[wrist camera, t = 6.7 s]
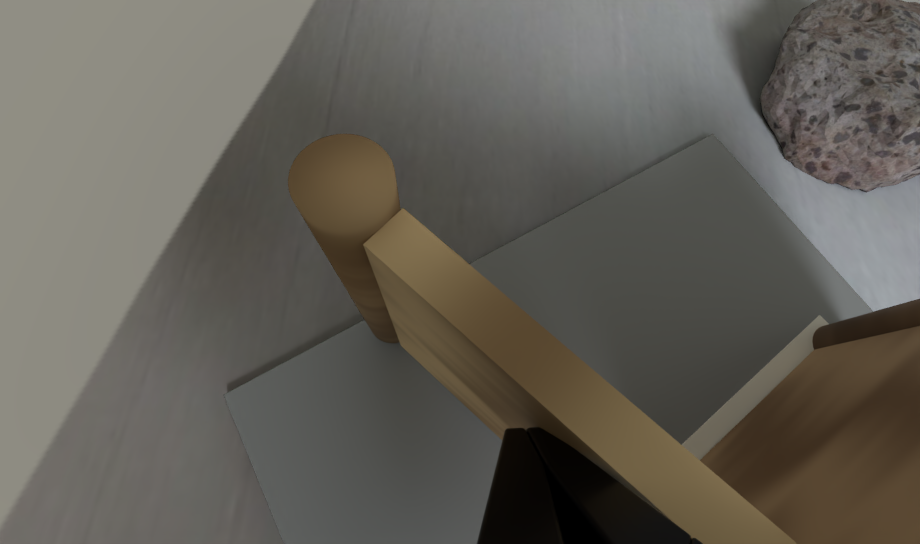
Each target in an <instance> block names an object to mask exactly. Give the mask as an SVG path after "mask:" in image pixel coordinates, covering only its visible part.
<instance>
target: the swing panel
mask: <svg viewBox="0 0 920 544" xmlns="http://www.w3.org/2000/svg"><path fill="white" fill-rule="evenodd" d="M288 187H289V192H290V195H291V198H292V200H293V202H294V203H295V205H296V207H297V208H298V210H299V212H300V213H301V215H302V217H303V218H304V220H305V222H306V223H307V225H308V227H309V228H310V230H311V232H312V233H313V235H314V237H315V238H316V240H317V242H318V243H319V245H320V247H321V248H322V250H323V251H324V253H325V255H326V256H327V258H328V260H329V261H330V263H331V265H332V266H333V268H334V270H335V271H336V273H337V275H338V276H339V278H340V280H341V281H342V283H343V285H344V286H345V288H346V290H347V291H348V293H349V295H350V296H351V298H352V299H353V301H354V303H355V304H356V306H357V308H358V309H359V311H360V313H361V314H362V316H363V318H364V319H365V321H366V323H367V324H368V326H369V328H370V329H371V331H372V333H373V334H374V335H375V336H376V337H377V338H378V339H379V340H381V341H383V342H386V343H398V342H400V345H401V346H402V347H403V348H404V349H405V350H406V351H407V352H408V353H409V354H410V355H411V356H412V357H413V358H415V359H416V360H417V361H418V362H419V363H420V364H421V365H422V366H423V367H424V368H425V369H426V370H427V371H428V372H430V373H431V374H432V375H433V376H434V377H435V378H436V379H437V380H438V381H439V382H440V383H441V384H442V385H443V386H444V387H446V388H447V389H448V390H449V391H450V392H451V393H452V394H453V395H454V396H455V397H456V398H457V399H458V400H459V401H461V402H462V403H463V404H464V405H465V406H466V407H467V408H468V409H469V410H470V411H471V412H472V413H473V414H474V415H475V416H477V417H478V418H479V419H480V420H481V421H482V422H483V423H484V424H485V425H486V426H487V427H488V428H489V429H490V430H492V431H493V432H494V433H495V434H496V435H497V436H498V437H499V438H500V439H501V440H502V439H503V435H504V432H505V430H506V429H507V428H524V429H525V430H526V429H527V428H529V427H540V428H542V429H544V430H545V431H547V432H549V433H550V434H552V435H554V436H555V437H557V438H558V439H560V440H562V441H563V442H565V443H567V444H568V445H570V446H572V447H573V448H575V449H576V450H577V451H579V452H580V453H581V454H583V455H584V456H585V457H587V458H588V459H589V460H591V461H592V462H593V463H595V464H596V465H597V466H599V467H600V468H601V469H603V470H604V471H605V472H607V473H608V474H609V475H611V476H612V477H613V478H615V479H616V480H617V481H619V482H620V483H621V484H623V485H624V486H625V487H627V488H628V489H629V490H631V491H632V492H633V493H635V494H636V495H638V496H639V497H640V498H642V499H643V500H644V501H646V502H647V503H648V504H650V505H651V506H652V507H654V508H655V509H656V510H658V511H659V512H660V513H662V514H663V515H664V516H666V517H667V518H668V519H670V520H671V521H672V522H674V523H675V524H676V525H678V526H679V527H680V528H682V529H683V530H684V531H686V532H687V533H688V534H690V536H691V539H692V538H696V539H698V540H699V541H700V542H702V543H703V544H797V543H796V542H795V541H794V540H793V539H791V538H790V537H789V536H788V535H787V534H786V533H784V532H783V531H782V530H781V529H780V528H778V527H777V526H776V525H775V524H774V523H773V522H771V521H770V520H769V519H768V518H767V517H766V516H764V515H763V514H762V513H761V512H760V511H759V510H757V509H756V508H755V507H754V506H753V505H751V504H750V503H749V502H748V501H747V500H746V499H744V498H743V497H742V496H741V495H740V494H739V493H737V492H736V491H735V490H734V489H733V488H732V487H730V486H729V485H728V484H727V483H726V482H724V481H723V480H722V479H721V478H720V477H719V476H717V475H716V474H715V473H714V472H713V471H712V470H710V469H709V468H708V467H707V466H706V465H704V464H703V463H702V462H701V461H700V460H699V459H697V458H696V457H695V456H694V455H693V454H692V453H690V452H689V451H688V450H687V449H686V448H685V447H683V446H682V445H681V444H680V443H679V442H677V441H676V440H675V439H674V438H673V437H672V436H670V435H669V434H668V433H667V432H666V431H665V430H663V429H662V428H661V427H660V426H659V425H657V424H656V423H655V422H654V421H653V420H652V419H650V418H649V417H648V416H647V415H646V414H645V413H643V412H642V411H641V410H640V409H639V408H638V407H636V406H635V405H634V404H633V403H632V402H630V401H629V400H628V399H627V398H626V397H625V396H623V395H622V394H621V393H620V392H619V391H618V390H616V389H615V388H614V387H613V386H612V385H610V384H609V383H608V382H607V381H606V380H605V379H603V378H602V377H601V376H600V375H599V374H598V373H596V372H595V371H594V370H593V369H592V368H591V367H589V366H588V365H587V364H586V363H585V362H583V361H582V360H581V359H580V358H579V357H578V356H576V355H575V354H574V353H573V352H572V351H571V350H569V349H568V348H567V347H566V346H565V345H563V344H562V343H561V342H560V341H559V340H558V339H556V338H555V337H554V336H553V335H552V334H551V333H549V332H548V331H547V330H546V329H545V328H544V327H542V326H541V325H540V324H539V323H538V322H536V321H535V320H534V319H533V318H532V317H531V316H529V315H528V314H527V313H526V312H525V311H524V310H522V309H521V308H520V307H519V306H518V305H516V304H515V303H514V302H513V301H512V300H511V299H509V298H508V297H507V296H506V295H505V294H504V293H502V292H501V291H500V290H499V289H498V288H497V287H495V286H494V285H493V284H492V283H491V282H489V281H488V280H487V279H486V278H485V277H484V276H482V275H481V274H480V273H479V272H478V271H477V270H475V269H474V268H473V267H472V266H471V265H470V264H468V263H467V262H466V261H465V260H464V259H462V258H461V257H460V256H459V255H458V254H457V253H455V252H454V251H453V250H452V249H451V248H450V247H448V246H447V245H446V244H445V243H444V242H442V241H441V240H440V239H439V238H438V237H437V236H435V235H434V234H433V233H432V232H431V231H430V230H428V229H427V228H426V227H425V226H424V225H423V224H421V223H420V222H419V221H418V220H417V219H415V218H414V217H413V216H412V215H411V214H410V213H408V212H407V211H406V210H405V209H404V208H402V209H400V203H399V196H398V189H397V182H396V176H395V170H394V166H393V163H392V160H391V159H390V157H389V155H388V154H387V153H386V151H385V150H384V149H383V148H382V147H381V146H380V145H378V144H377V143H375V142H374V141H372V140H370V139H368V138H365V137H362V136H359V135H353V134H336V135H330V136H327V137H323V138H321V139H319V140H317V141H315V142H313V143H311V144H310V145H308V146H307V147H306V148H305V149H303V150H302V151H301V152H300V154H299V155H298V156H297V157H296V159H295V160H294V162H293V164H292V166H291V169H290V172H289V177H288Z"/></svg>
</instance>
